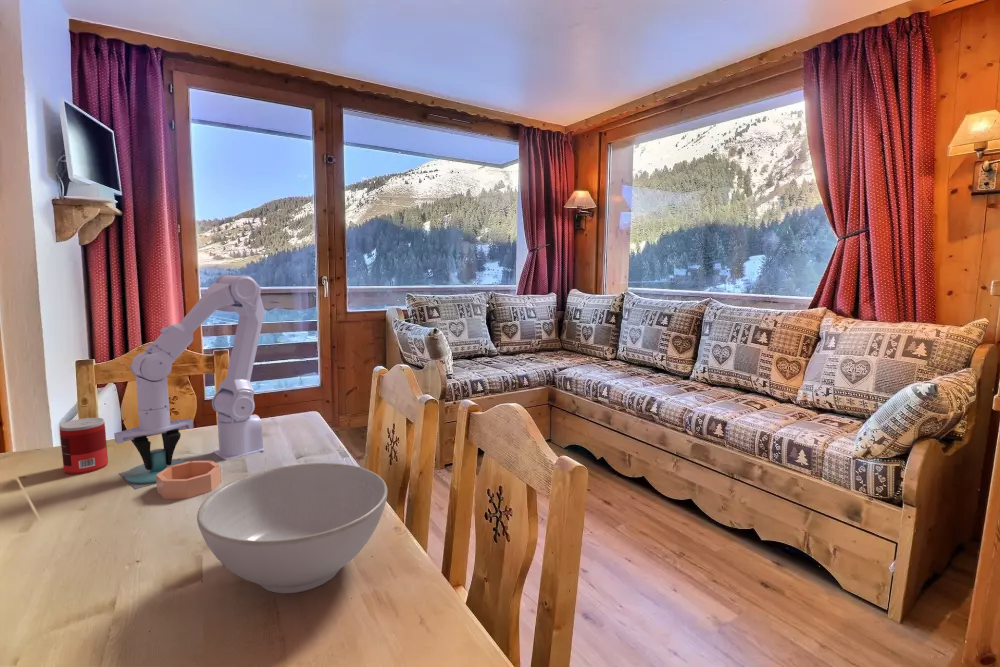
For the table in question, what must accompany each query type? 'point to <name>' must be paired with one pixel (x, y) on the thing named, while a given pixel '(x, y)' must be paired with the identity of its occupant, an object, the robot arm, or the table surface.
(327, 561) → the decorative bowl
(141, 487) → the mat
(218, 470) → the ramekin
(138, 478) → the lid
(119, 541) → the table surface
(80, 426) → the canned food
